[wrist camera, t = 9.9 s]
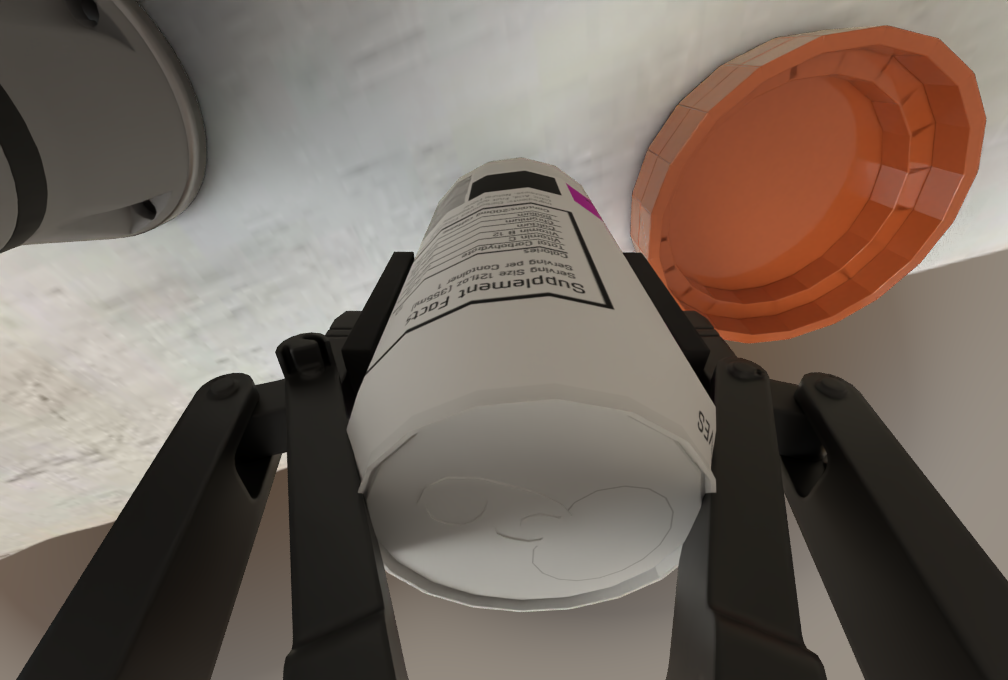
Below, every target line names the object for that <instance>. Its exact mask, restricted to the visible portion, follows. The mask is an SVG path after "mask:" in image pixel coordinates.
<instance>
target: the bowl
mask: <svg viewBox="0 0 1008 680" xmlns="http://www.w3.org/2000/svg"><path fill="white" fill-rule="evenodd" d="M985 125H986V115H985V111H984V107H983V104H982V100H981V96H980V92H979V88H978V85H977V81H976V77H975V73H973V71H972V70H971V69H970V68H969V67H968V66H967V65H966V64H965V63H964V62H963V61H962V60H961V59H960V58H959V57H958V56H957V55H956V54H955V53H954V52H953V51H952V50H950V49H949V48H948V47H947V46H946V45H945V44H944V43H943V42H942V41H941V40H940V39H939V38H936V37H932V36H928V35H924V34H920V33H916V32H912V31H908V30H904V29H900V28H896V27H892V26H888V25H881V26H867V27H854V28H839V29H826V30H820V31H814V32H807V33H801V34H795V35H789V36H782V37H776V38H775V39H772V40H770V41H768V42H766V43H764V44H762V45H760V46H758V47H756V48H754V49H752V50H750V51H748V52H746V53H744V54H742V55H740V56H738V57H736V58H734V59H732V60H730V61H728V62H726V63H724V64H723V65H721V66H720V67H719V68H717V69H716V70H715V71H714V72H713V73H712V74H711V75H710V76H709V77H707V78H706V79H705V80H704V81H703V82H702V83H701V84H700V85H698V86H697V87H696V88H695V89H694V90H693V91H692V92H691V93H690V94H688V95H687V96H686V97H685V98H684V99H683V100H682V101H681V102H679V104H678V105H677V106H676V108H675V109H674V111H673V112H672V114H671V115H670V117H669V118H668V120H667V121H666V123H665V124H664V126H663V127H662V128H661V130H660V131H659V133H658V134H657V136H656V137H655V139H654V140H653V142H652V143H651V145H650V146H649V148H648V150H647V153H646V155H645V158H644V161H643V164H642V167H641V170H640V173H639V176H638V178H637V181H636V184H635V187H634V190H633V193H632V194H633V195H632V206H631V232H630V234H631V239H632V242H633V245H634V248H635V251H636V253H642V254H643V255H644V256H645V258H646V259H647V261H648V262H649V263H650V265H651V266H652V268H653V269H654V271H655V272H656V273H657V275H658V276H659V278H660V279H661V281H662V282H663V283H664V285H665V286H666V288H667V289H668V291H669V292H670V293H671V295H672V296H673V298H674V299H675V301H676V302H677V303H678V305H679V306H680V308H681V309H682V311H696V312H698V313H699V314H701V315H703V316H704V317H706V318H707V319H708V320H709V321H710V323H711V324H712V325H713V327H714V329H716V331H717V332H718V333H719V334H720V337H722V338H723V340H731V341H736V342H743V343H757V342H767V341H776V340H785V339H790V338H794V337H797V336H800V335H803V334H805V333H809V332H812V331H815V330H818V329H821V328H823V327H826V326H829V325H832V324H835V323H837V322H839V321H840V320H842V319H844V318H846V317H847V316H849V315H851V314H853V313H854V312H856V311H858V310H860V309H861V308H863V307H865V306H867V305H868V304H870V303H872V302H874V301H875V300H877V298H879V297H881V296H882V295H883V294H884V293H886V292H887V291H888V290H889V289H890V288H891V287H892V286H894V285H895V284H896V283H897V282H899V281H900V280H901V279H902V278H903V277H905V276H906V275H907V274H908V273H909V272H910V271H912V270H913V269H914V268H915V267H916V266H918V264H920V263H921V262H922V260H923V259H924V258H925V257H926V255H927V254H928V253H929V252H930V250H931V249H932V248H933V247H934V245H935V244H936V243H937V242H938V240H939V239H940V238H941V237H942V235H943V234H944V233H945V232H946V230H947V229H948V228H949V227H950V225H951V224H952V223H953V222H954V220H955V218H956V216H957V214H958V212H959V210H960V208H961V206H962V204H963V202H964V199H965V197H966V195H967V193H968V191H969V189H970V187H971V185H972V183H973V181H974V179H975V177H976V175H977V173H978V170H979V163H980V157H981V151H982V144H983V138H984V132H985Z"/></svg>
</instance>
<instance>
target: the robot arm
mask: <svg viewBox="0 0 1008 680" xmlns="http://www.w3.org/2000/svg"><path fill="white" fill-rule="evenodd" d="M206 159H207V145H206V134H205V128H204V123H203V119H202V115H201V111H200V107H199V104H198V102H197V99H196V96H195V93H194V91H193V88H192V86H191V84H190V81H189V79H188V77H187V75H186V73H185V71H184V69H183V67H182V65H181V63H180V61H179V60H178V58H177V56H176V55H175V53H174V51H173V49H172V48H171V46H170V45H169V43H168V42H167V40H166V39H165V37H164V36H163V34H162V33H161V32H160V30H159V29H158V28H157V26H156V25H155V24H154V22H153V21H152V20H151V18H150V17H149V16H148V15H147V13H146V12H145V11H144V10H143V9H142V8H141V7H140V5H139V4H138V3H137V2H136V1H135V0H0V253H2V252H5V251H7V250H10V249H12V248H15V247H18V246H20V245H29V244H44V243H59V242H74V241H88V240H103V239H116V238H124V237H130V236H135V235H139V234H142V233H145V232H147V231H150V230H152V229H154V228H156V227H158V226H160V225H162V224H164V223H166V222H168V221H170V220H172V219H173V218H175V217H176V216H178V215H179V214H181V213H182V212H183V211H184V210H185V209H186V208H187V207H188V206H189V205H190V204H191V203H192V201H193V200H194V198H195V197H196V195H197V193H198V191H199V189H200V187H201V184H202V181H203V178H204V174H205V168H206ZM623 255H624V256H625V258H626V260H627V261H628V263H629V265H630V266H631V268H632V269H633V271H634V273H635V274H636V276H637V278H638V279H639V281H640V283H641V284H642V286H643V288H644V289H645V291H646V293H647V294H648V296H649V298H650V299H651V301H652V303H653V304H654V306H655V308H656V309H657V311H658V313H659V314H660V316H661V318H662V319H663V321H664V322H665V324H666V326H667V327H668V329H669V331H670V332H671V334H672V336H673V337H674V339H675V341H676V342H677V344H678V346H679V347H680V349H681V351H682V352H683V354H684V356H685V357H686V359H687V361H688V362H689V364H690V366H691V367H692V369H693V371H694V372H695V374H696V375H697V377H698V379H699V380H700V382H701V384H702V385H703V387H704V389H705V390H706V392H707V394H708V395H709V397H710V399H711V400H712V402H713V404H714V405H715V407H716V434H715V441H714V448H713V455H712V464H711V471H712V473H713V475H714V477H715V479H716V493H705V495H704V497H703V499H702V505H701V508H700V510H699V513H698V515H697V517H696V519H695V521H694V524H693V526H692V528H691V530H690V532H689V534H688V536H687V538H686V540H685V542H684V543H683V545H682V550H681V554H680V559H679V566H678V577H677V587H676V597H675V608H674V618H673V629H672V638H671V649H670V659H669V667H668V672H667V677H666V680H827V677H826V673H825V669H824V666H823V664H822V662H821V660H820V659H819V657H818V655H816V654H815V653H813V652H812V651H810V650H809V649H807V648H806V646H805V644H804V641H803V637H802V632H801V624H800V616H799V608H798V600H797V593H796V584H795V577H794V569H793V561H792V554H791V545H790V537H789V529H788V521H787V514H786V506H785V498H784V493H785V495H786V498H787V500H788V502H789V504H790V507H791V509H792V512H793V514H794V516H795V518H796V520H797V523H798V525H799V527H800V530H801V532H802V535H803V537H804V539H805V542H806V544H807V546H808V549H809V551H810V553H811V556H812V558H813V560H814V562H815V565H816V567H817V569H818V572H819V574H820V576H821V578H822V581H823V583H824V586H825V588H826V590H827V593H828V595H829V597H830V600H831V602H832V604H833V607H834V609H835V611H836V613H837V616H838V618H839V620H840V623H841V625H842V627H843V630H844V632H845V634H846V636H847V639H848V641H849V644H850V646H851V648H852V651H853V653H854V655H855V657H856V660H857V662H858V664H859V667H860V669H861V671H862V673H863V676H864V678H865V680H1008V581H1007V580H1006V578H1005V577H1004V576H1003V575H1002V573H1001V572H1000V571H999V569H998V568H997V567H996V565H995V564H994V563H993V562H992V560H991V559H990V558H989V557H988V555H987V554H986V553H985V551H984V550H983V549H982V548H981V546H980V545H979V544H978V542H977V541H976V540H975V539H974V537H973V536H972V535H971V534H970V532H969V531H968V530H967V529H966V527H965V526H964V525H963V524H962V522H961V521H960V520H959V518H958V517H957V516H956V515H955V513H954V512H953V511H952V509H951V508H950V507H949V506H948V504H947V503H946V502H945V500H944V499H943V498H942V497H941V495H940V494H939V493H938V491H937V490H936V489H935V488H934V486H933V485H932V484H931V483H930V481H929V480H928V479H927V477H926V476H925V475H924V474H923V472H922V471H921V470H920V469H919V467H918V466H917V465H916V463H915V462H914V461H913V460H912V458H911V457H910V456H909V454H908V453H907V452H906V451H905V449H904V448H903V447H902V445H901V444H900V443H899V442H898V440H897V439H896V438H895V436H894V435H893V434H892V433H891V431H890V430H889V429H888V428H887V426H886V425H885V424H884V423H883V421H882V420H881V419H880V417H879V416H878V415H877V413H876V412H875V411H874V410H873V408H872V407H871V406H870V405H869V403H868V402H867V401H866V399H865V398H864V397H863V396H862V394H861V393H860V392H859V391H858V390H857V389H856V388H855V387H854V386H853V385H851V384H850V383H848V382H846V381H845V380H843V379H842V378H839V377H836V376H834V375H831V374H825V373H820V372H818V373H808V374H805V375H804V376H803V378H802V380H801V382H800V384H799V385H796V384H791V383H786V382H781V381H776V380H772V379H769V376H768V374H767V372H766V371H765V370H764V369H763V368H762V367H761V366H759V365H757V364H756V363H754V362H752V361H749V360H746V359H743V358H737V356H736V355H735V354H734V352H733V351H732V350H731V349H730V347H729V346H728V345H727V343H726V342H725V341H724V340H723V338H722V337H720V334H719V333H718V332H717V331H716V329H714V327H713V325H712V324H711V323H710V321H709V320H708V319H707V318H706V317H704V316H703V315H701V314H699V313H698V312H696V311H682V309H681V308H680V306H679V305H678V303H677V302H676V301H675V299H674V298H673V296H672V295H671V293H670V292H669V291H668V289H667V288H666V286H665V285H664V283H663V282H662V281H661V279H660V278H659V276H658V275H657V273H656V272H655V271H654V269H653V268H652V266H651V265H650V263H649V262H648V261H647V259H646V258H645V256H644V255H643V254H642V253H623ZM414 260H415V259H414V252H394V253H393V255H392V257H391V259H390V261H389V262H388V264H387V266H386V268H385V270H384V272H383V273H382V275H381V277H380V279H379V281H378V283H377V285H376V286H375V288H374V290H373V292H372V294H371V296H370V297H369V299H368V301H367V303H366V305H365V307H364V308H363V310H362V311H346V312H344V313H343V314H342V315H340V316H339V317H337V318H336V319H335V320H334V322H333V323H332V325H331V327H330V330H328V331H327V333H326V335H323V334H321V333H303V334H299V335H296V336H293V337H290V338H288V339H287V340H285V341H283V342H282V343H281V344H280V345H279V346H278V347H277V349H276V352H275V353H276V356H277V358H278V361H279V364H280V366H281V369H282V372H283V374H284V377H285V379H282V380H278V381H274V382H269V383H264V384H259V385H255V384H254V382H253V380H252V378H251V377H250V376H249V375H246V374H244V373H231V374H226V375H222V376H219V377H216V378H214V379H212V380H210V381H209V382H207V383H206V384H204V385H202V387H201V388H200V389H199V390H198V391H197V392H196V394H195V395H194V397H193V398H192V400H191V402H190V403H189V405H188V406H187V408H186V410H185V411H184V413H183V414H182V416H181V417H180V419H179V421H178V422H177V424H176V425H175V427H174V429H173V430H172V432H171V433H170V435H169V437H168V438H167V440H166V441H165V443H164V445H163V446H162V448H161V449H160V451H159V453H158V454H157V456H156V457H155V459H154V461H153V462H152V464H151V465H150V467H149V469H148V470H147V472H146V473H145V475H144V477H143V478H142V480H141V481H140V483H139V485H138V486H137V488H136V489H135V491H134V492H133V494H132V496H131V497H130V499H129V500H128V502H127V504H126V505H125V507H124V508H123V510H122V512H121V513H120V515H119V516H118V518H117V520H116V521H115V523H114V525H113V526H112V528H111V529H110V531H109V532H108V534H107V536H106V537H105V539H104V540H103V542H102V544H101V545H100V547H99V548H98V550H97V552H96V553H95V555H94V556H93V558H92V560H91V561H90V563H89V564H88V566H87V568H86V569H85V571H84V572H83V574H82V575H81V577H80V579H79V580H78V582H77V584H76V585H75V587H74V588H73V590H72V591H71V593H70V595H69V596H68V598H67V599H66V601H65V603H64V604H63V606H62V607H61V609H60V611H59V612H58V614H57V615H56V617H55V619H54V620H53V622H52V623H51V625H50V627H49V628H48V630H47V631H46V633H45V635H44V636H43V638H42V639H41V641H40V643H39V644H38V646H37V647H36V649H35V650H34V652H33V654H32V655H31V657H30V658H29V660H28V662H27V663H26V665H25V667H24V668H23V670H22V671H21V673H20V675H19V676H18V678H17V679H16V680H210V679H211V675H212V673H213V670H214V666H215V663H216V660H217V657H218V654H219V651H220V647H221V644H222V641H223V638H224V635H225V632H226V629H227V625H228V622H229V619H230V616H231V613H232V610H233V607H234V603H235V600H236V597H237V594H238V591H239V588H240V584H241V581H242V578H243V575H244V572H245V569H246V566H247V562H248V559H249V556H250V553H251V550H252V547H253V543H254V540H255V537H256V534H257V531H258V528H259V524H260V521H261V518H262V515H263V512H264V509H265V505H266V502H267V499H268V496H269V493H270V490H271V487H272V483H273V480H274V477H275V474H276V471H277V468H278V465H279V461H280V458H281V455H282V453H285V452H287V465H288V496H289V527H290V556H291V557H290V559H291V587H292V588H291V589H292V620H293V645H292V650H291V651H290V653H289V654H288V655H287V657H286V659H285V664H284V671H283V672H284V673H283V680H409V679H408V676H407V671H406V668H405V663H404V658H403V654H402V649H401V644H400V639H399V635H398V630H397V626H396V620H395V616H394V611H393V607H392V602H391V598H390V593H389V588H388V583H387V578H386V574H385V569H384V564H383V560H382V556H381V552H380V548H379V544H378V540H377V537H376V535H375V532H374V528H373V525H372V522H371V518H370V515H369V511H368V508H367V504H366V500H365V497H364V494H362V493H358V490H359V487H360V484H361V483H360V479H359V474H358V470H357V465H356V460H355V456H354V452H353V448H352V445H351V442H350V439H349V436H348V433H347V430H346V429H347V426H348V423H349V420H350V416H351V413H352V410H353V407H354V403H355V400H356V397H357V394H358V391H359V389H360V386H361V384H362V382H363V379H364V377H365V375H366V372H367V370H368V368H369V365H370V363H371V361H372V358H373V356H374V353H375V351H376V349H377V346H378V344H379V342H380V339H381V337H382V335H383V332H384V330H385V328H386V325H387V323H388V321H389V318H390V316H391V314H392V311H393V309H394V306H395V304H396V302H397V299H398V297H399V295H400V292H401V290H402V288H403V285H404V283H405V281H406V278H407V276H408V274H409V271H410V269H411V267H412V264H413V262H414Z"/></svg>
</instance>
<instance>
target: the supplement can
mask: <svg viewBox="0 0 1008 680" xmlns="http://www.w3.org/2000/svg"><path fill="white" fill-rule="evenodd" d="M346 430H347V433H348V436H349V439H350V442H351V445H352V448H353V452H354V456H355V460H356V465H357V470H358V474H359V479H360V483H361V484H360V487H359V490H358V493H362V494H364V497H365V500H366V504H367V508H368V511H369V515H370V518H371V522H372V525H373V528H374V532H375V535H376V537H377V540H378V544H379V548H380V552H381V556H382V560H383V564H384V569H385V570H386V571H387V572H388V573H390V574H391V575H393V576H395V577H397V578H398V579H400V580H402V581H404V582H406V583H407V584H409V585H411V586H413V587H415V588H416V589H418V590H420V591H422V592H424V593H425V594H428V595H432V596H435V597H439V598H442V599H445V600H449V601H452V602H456V603H460V604H463V605H466V606H470V607H476V608H487V609H497V610H506V611H515V612H529V611H547V610H564V609H573V608H577V607H582V606H586V605H591V604H595V603H599V602H604V601H608V600H613V599H617V598H620V597H622V596H625V595H627V594H629V593H632V592H634V591H636V590H639V589H641V588H643V587H645V586H648V585H650V584H652V583H654V582H657V581H659V580H661V579H663V578H664V577H666V576H667V575H668V574H669V573H671V572H672V571H673V570H675V569H676V568H677V567H678V566H679V559H680V554H681V550H682V545H683V543H684V542H685V540H686V538H687V536H688V534H689V532H690V530H691V528H692V526H693V524H694V521H695V519H696V517H697V515H698V513H699V510H700V508H701V505H702V499H703V497H704V495H705V493H716V479H715V477H714V475H713V473H712V471H711V464H712V455H713V448H714V441H715V434H716V407H715V405H714V404H713V402H712V400H711V399H710V397H709V395H708V394H707V392H706V390H705V389H704V387H703V385H702V384H701V382H700V380H699V379H698V377H697V375H696V374H695V372H694V371H693V369H692V367H691V366H690V364H689V362H688V361H687V359H686V357H685V356H684V354H683V352H682V351H681V349H680V347H679V346H678V344H677V342H676V341H675V339H674V337H673V336H672V334H671V332H670V331H669V329H668V327H667V326H666V324H665V322H664V321H663V319H662V318H661V316H660V314H659V313H658V311H657V309H656V308H655V306H654V304H653V303H652V301H651V299H650V298H649V296H648V294H647V293H646V291H645V289H644V288H643V286H642V284H641V283H640V281H639V279H638V278H637V276H636V274H635V273H634V271H633V269H632V268H631V266H630V265H629V263H628V261H627V260H626V258H625V256H624V255H623V253H622V251H621V250H620V248H619V246H618V245H617V243H616V241H615V240H614V238H613V236H612V235H611V233H610V231H609V230H608V228H607V226H606V225H605V223H604V221H603V220H602V218H601V217H600V215H599V213H598V212H597V210H596V208H595V207H594V205H593V203H592V202H591V200H590V199H589V197H588V195H587V194H586V192H585V191H584V189H583V187H582V186H581V184H579V183H578V182H576V181H575V180H574V179H572V178H571V177H570V176H568V175H567V174H565V173H564V172H563V171H561V170H560V169H559V168H557V167H556V166H554V165H550V164H546V163H542V162H538V161H534V160H530V159H526V158H514V159H507V160H499V161H491V162H487V163H486V164H484V165H482V166H480V167H478V168H476V169H474V170H473V171H471V172H469V173H467V174H465V175H463V176H462V177H460V178H459V179H458V180H457V181H456V182H455V184H454V185H453V186H452V187H451V188H450V190H449V191H448V192H447V193H446V194H445V195H444V197H443V198H442V199H441V200H440V201H439V203H438V205H437V208H436V210H435V213H434V215H433V217H432V220H431V222H430V224H429V227H428V229H427V231H426V234H425V236H424V238H423V241H422V243H421V245H420V248H419V250H418V252H417V255H416V257H415V260H414V262H413V264H412V267H411V269H410V271H409V274H408V276H407V278H406V281H405V283H404V285H403V288H402V290H401V292H400V295H399V297H398V299H397V302H396V304H395V306H394V309H393V311H392V314H391V316H390V318H389V321H388V323H387V325H386V328H385V330H384V332H383V335H382V337H381V339H380V342H379V344H378V346H377V349H376V351H375V353H374V356H373V358H372V361H371V363H370V365H369V368H368V370H367V372H366V375H365V377H364V379H363V382H362V384H361V386H360V389H359V391H358V394H357V397H356V400H355V403H354V407H353V410H352V413H351V416H350V420H349V423H348V426H347V429H346Z"/></svg>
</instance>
